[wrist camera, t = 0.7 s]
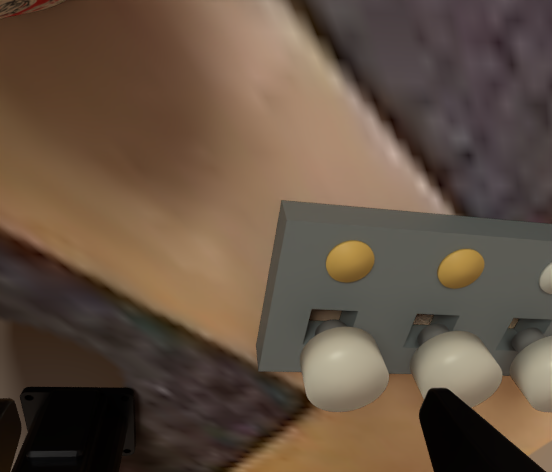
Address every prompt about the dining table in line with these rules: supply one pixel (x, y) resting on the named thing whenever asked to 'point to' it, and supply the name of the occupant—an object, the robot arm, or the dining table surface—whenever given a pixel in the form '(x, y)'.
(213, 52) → the dining table surface
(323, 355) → the button inner
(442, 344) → the button middle
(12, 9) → the teacup with lid
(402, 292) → the board
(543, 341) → the white lever knob
